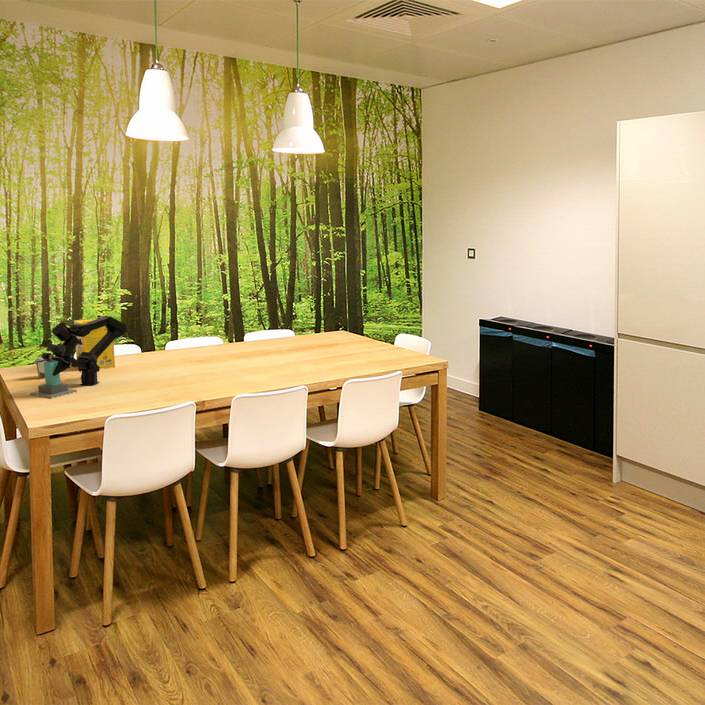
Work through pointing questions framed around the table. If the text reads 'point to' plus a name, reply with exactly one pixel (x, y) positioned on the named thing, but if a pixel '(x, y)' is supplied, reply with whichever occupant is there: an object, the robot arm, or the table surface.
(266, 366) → the table surface
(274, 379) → the table surface
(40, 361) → the food container
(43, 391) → the socket
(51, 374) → the plug
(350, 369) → the table surface
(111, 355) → the packaging box
